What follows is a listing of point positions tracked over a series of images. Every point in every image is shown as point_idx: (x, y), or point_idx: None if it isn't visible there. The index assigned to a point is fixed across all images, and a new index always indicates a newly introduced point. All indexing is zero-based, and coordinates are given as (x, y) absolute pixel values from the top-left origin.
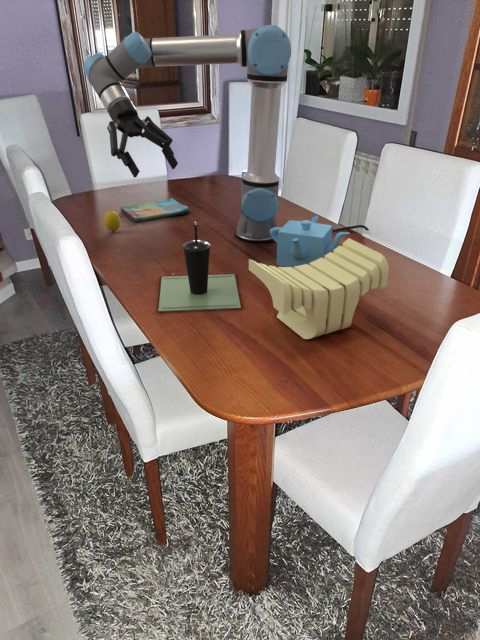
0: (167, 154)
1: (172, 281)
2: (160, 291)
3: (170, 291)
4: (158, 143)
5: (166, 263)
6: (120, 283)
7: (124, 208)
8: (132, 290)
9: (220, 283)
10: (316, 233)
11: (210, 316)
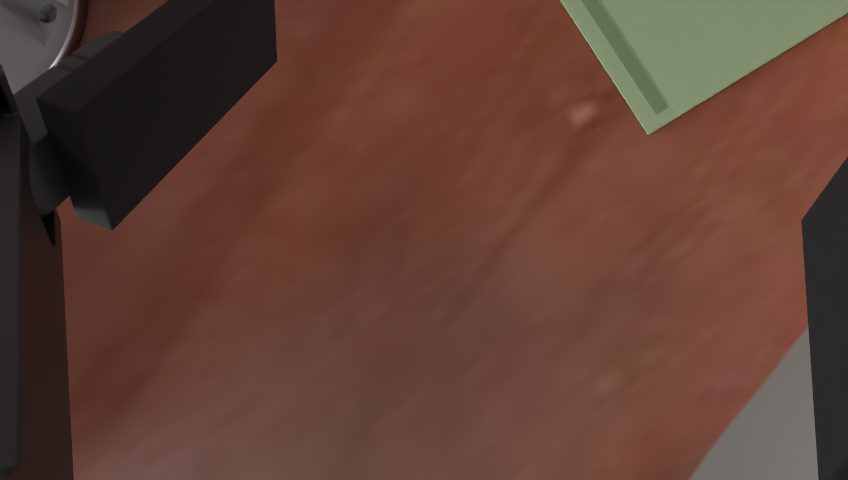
0: (177, 94)
1: (672, 57)
2: (796, 42)
3: (774, 2)
4: (52, 268)
5: (488, 214)
6: (795, 274)
7: None
8: None
9: None
10: None
11: None
